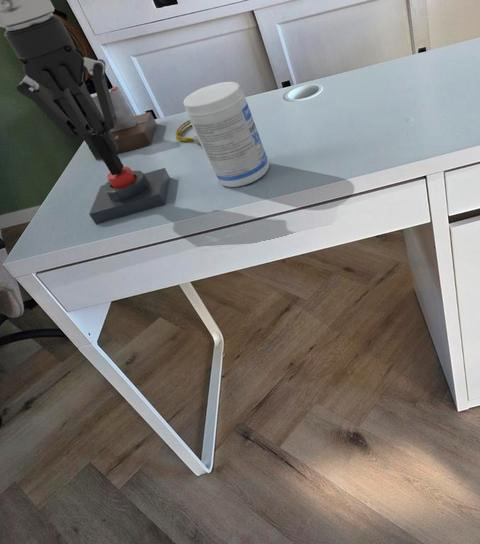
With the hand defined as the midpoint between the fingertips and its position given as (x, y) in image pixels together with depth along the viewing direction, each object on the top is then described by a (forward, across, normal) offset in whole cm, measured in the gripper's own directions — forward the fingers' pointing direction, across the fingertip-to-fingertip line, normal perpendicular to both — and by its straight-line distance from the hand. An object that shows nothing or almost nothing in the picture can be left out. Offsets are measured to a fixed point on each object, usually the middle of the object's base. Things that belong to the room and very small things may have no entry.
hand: (117, 170), depth 83 cm
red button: (+2, 0, 0) cm, 2 cm away
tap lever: (+3, -6, +30) cm, 31 cm away
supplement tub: (+6, +20, -2) cm, 21 cm away
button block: (+6, 0, 0) cm, 6 cm away
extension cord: (+6, +12, +22) cm, 26 cm away
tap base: (+6, -6, +30) cm, 31 cm away
